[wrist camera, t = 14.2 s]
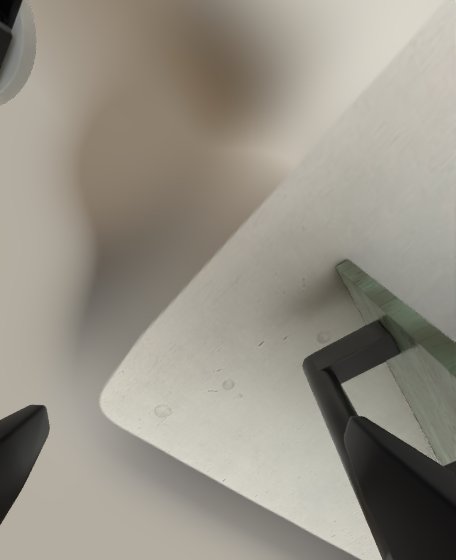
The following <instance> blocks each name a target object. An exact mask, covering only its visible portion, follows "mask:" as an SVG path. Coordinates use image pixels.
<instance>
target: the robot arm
mask: <svg viewBox="0 0 456 560" xmlns="http://www.w3.org/2000/svg"><path fill="white" fill-rule="evenodd" d="M22 1H23V0H0V69H1V66H2V63H3V61H4V58H5V55H6V53H7V50H8V47H9V45H10V42H11V39H12V32H11V31H12V28H13V25H14V23H15V20H16V17H17V15H18V12H19V9H20V6H21V4H22ZM49 429H50V427H49V420H48V414H47V409H46V407H45V406H44V405H29V406H27V407H25V408H23V409H21V410H19V411H17V412H15V413H13V414H11V415H9V416H7V417H5V418H3V419H2V420H0V524H1V523H2V521H3V520H4V518H5V516H6V515H7V513H8V511H9V510H10V508H11V507H12V505H13V503H14V502H15V500H16V498H17V497H18V495H19V493H20V492H21V490H22V488H23V486H24V484H25V482H26V480H27V478H28V477H29V474H30V472H31V470H32V468H33V466H34V464H35V462H36V460H37V458H38V456H39V454H40V451H41V449H42V447H43V445H44V443H45V441H46V439H47V437H48V434H49ZM344 444H345V447H346V450H347V453H348V456H349V459H350V461H351V464H352V467H353V470H354V473H355V476H356V479H357V481H358V484H359V487H360V490H361V492H362V494H363V497H364V499H365V501H366V503H367V506H368V508H369V510H370V512H371V514H372V516H373V519H374V521H375V523H376V525H377V527H378V529H379V531H380V534H381V536H382V538H383V540H384V542H385V544H386V547H387V549H388V551H389V553H390V555H391V557H392V560H456V474H454V473H453V472H451V471H450V470H448V469H447V468H445V467H443V466H442V465H440V464H439V463H437V462H435V461H434V460H432V459H431V458H429V457H427V456H426V455H424V454H423V453H421V452H419V451H418V450H416V449H415V448H413V447H412V446H410V445H408V444H407V443H405V442H404V441H402V440H400V439H399V438H397V437H396V436H394V435H392V434H391V433H389V432H388V431H386V430H385V429H383V428H381V427H380V426H378V425H377V424H375V423H373V422H372V421H370V420H369V419H367V418H365V417H363V416H351V417H350V419H349V421H348V424H347V428H346V431H345V434H344Z"/></svg>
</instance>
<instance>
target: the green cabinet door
mask: <svg viewBox="0 0 456 560" xmlns="http://www.w3.org/2000/svg"><path fill="white" fill-rule="evenodd" d="M336 268H337V270H338V272H339V274H340V276H341V278H342V280H343V282H344V283H345V285H346V287H347V289H348V291H349V293H350V295H351V297H352V298H353V300H354V302H355V304H356V306H357V308H358V310H359V312H360V314H361V315H362V317H363V319H364V321H365V323H366V326H364V327H362V328H360V329H358V330H356V331H355V332H353V333H351V334H349V335H347V336H345V337H343V338H341V339H340V340H338V341H336V342H334V343H332V344H330V345H328V346H326V347H324V348H323V349H321V350H319V351H317V352H315V353H313V354H311V355H310V356H308V357H307V358H306V359H305V360H304V362H303V365H302V367H303V370H304V373H305V375H306V378H307V380H308V382H309V385H310V387H311V389H312V392H313V394H314V397H315V399H316V401H317V404H318V406H319V409H320V411H321V413H322V416H323V418H324V421H325V423H326V425H327V428H328V430H329V432H330V435H331V437H332V440H333V442H334V444H335V447H336V449H337V452H338V454H339V456H340V459H341V461H342V464H343V466H344V468H345V471H346V473H347V475H348V478H349V480H350V483H351V485H352V487H353V490H354V492H355V495H356V497H357V499H358V502H359V504H360V506H361V509H362V511H363V514H364V516H365V518H366V521H367V523H368V526H369V528H370V530H371V533H372V535H373V538H374V540H375V542H376V545H377V547H378V549H379V552H380V554H381V557H382V559H383V560H392V557H391V555H390V553H389V551H388V549H387V547H386V544H385V542H384V540H383V538H382V536H381V534H380V531H379V529H378V527H377V525H376V523H375V521H374V519H373V516H372V514H371V512H370V510H369V508H368V506H367V503H366V501H365V499H364V497H363V494H362V492H361V490H360V487H359V484H358V481H357V479H356V476H355V473H354V470H353V467H352V464H351V461H350V459H349V456H348V453H347V450H346V447H345V444H344V434H345V431H346V428H347V424H348V421H349V419H350V417H351V416H358V414H357V412H356V411H355V409H354V407H353V405H352V403H351V402H350V400H349V398H348V396H347V394H346V393H345V391H344V389H343V387H342V385H341V384H342V383H344V382H346V381H348V380H349V379H351V378H353V377H355V376H357V375H359V374H361V373H363V372H365V371H367V370H369V369H371V368H373V367H375V366H377V365H379V364H381V363H383V362H385V361H386V362H387V364H388V366H389V368H390V370H391V372H392V374H393V376H394V377H395V379H396V381H397V383H398V385H399V387H400V389H401V391H402V392H403V394H404V396H405V398H406V400H407V402H408V404H409V406H410V407H411V409H412V411H413V413H414V415H415V417H416V419H417V421H418V423H419V424H420V426H421V428H422V430H423V432H424V434H425V436H426V438H427V439H428V441H429V443H430V445H431V447H432V449H433V451H434V453H435V454H436V456H437V458H438V460H439V462H440V464H441V465H442V466H443V467H445V468H447V469H448V470H450V471H451V472H453V473H454V474H456V343H455V342H454V341H453V340H451V339H450V338H449V337H447V336H446V335H445V334H444V333H442V332H441V331H440V330H438V329H437V328H436V327H435V326H433V325H432V324H431V323H429V322H428V321H427V320H426V319H424V318H423V317H422V316H421V315H419V314H418V313H417V312H415V311H414V310H413V309H412V308H410V307H409V306H408V305H406V304H405V303H404V302H403V301H401V300H400V299H399V298H397V297H396V296H395V295H394V294H392V293H391V292H390V291H388V290H387V289H386V288H385V287H383V286H382V285H381V284H379V283H378V282H377V281H376V280H374V279H373V278H372V277H370V276H369V275H368V274H367V273H365V272H364V271H363V270H361V269H360V268H359V267H358V266H356V265H355V264H354V263H352V262H351V261H350V260H346V261H344V262H343V263H341V264H339V265H338V266H336Z"/></svg>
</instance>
